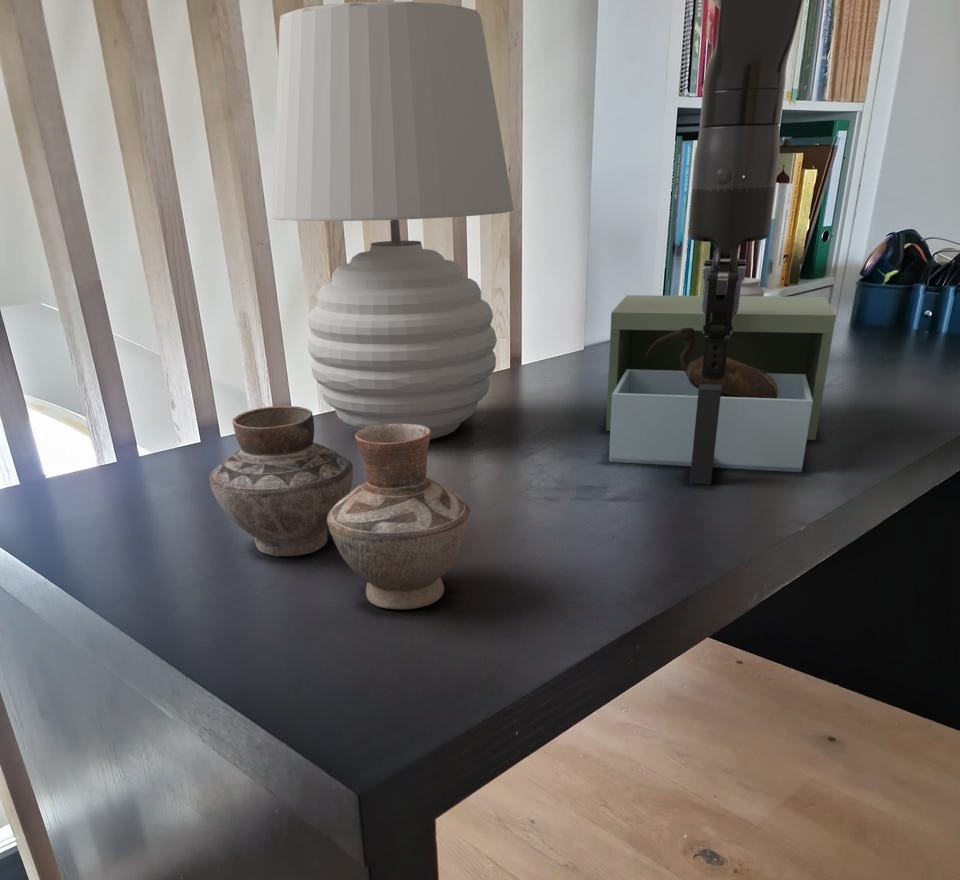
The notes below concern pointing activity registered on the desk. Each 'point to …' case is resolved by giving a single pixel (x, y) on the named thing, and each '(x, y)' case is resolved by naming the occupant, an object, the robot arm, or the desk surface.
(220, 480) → the pottery
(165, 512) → the desk surface
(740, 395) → the figurine
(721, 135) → the robot arm
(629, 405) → the bin
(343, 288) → the table lamp
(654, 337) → the cabinet
